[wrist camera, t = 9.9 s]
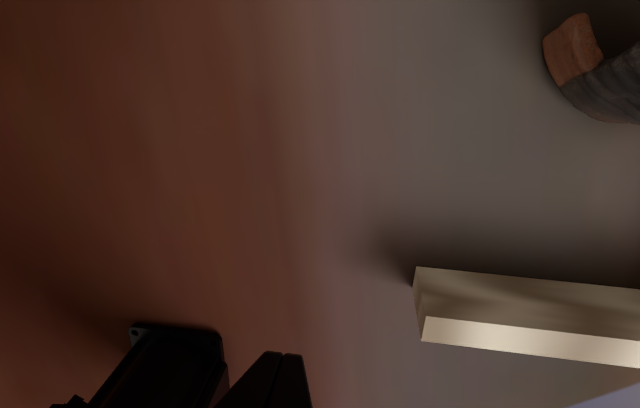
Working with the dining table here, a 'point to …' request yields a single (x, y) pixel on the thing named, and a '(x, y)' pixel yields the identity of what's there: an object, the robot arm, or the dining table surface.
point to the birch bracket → (529, 315)
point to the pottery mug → (594, 72)
